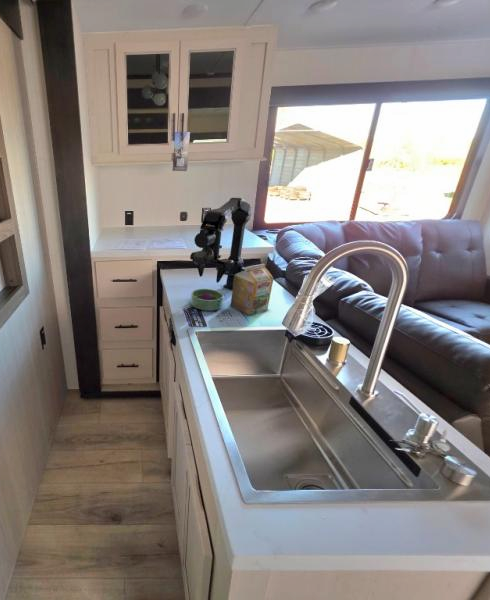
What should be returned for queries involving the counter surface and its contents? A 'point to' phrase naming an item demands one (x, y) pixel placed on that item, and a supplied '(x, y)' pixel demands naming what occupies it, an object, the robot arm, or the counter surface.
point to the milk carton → (252, 290)
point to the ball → (207, 296)
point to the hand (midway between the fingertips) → (209, 279)
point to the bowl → (206, 304)
